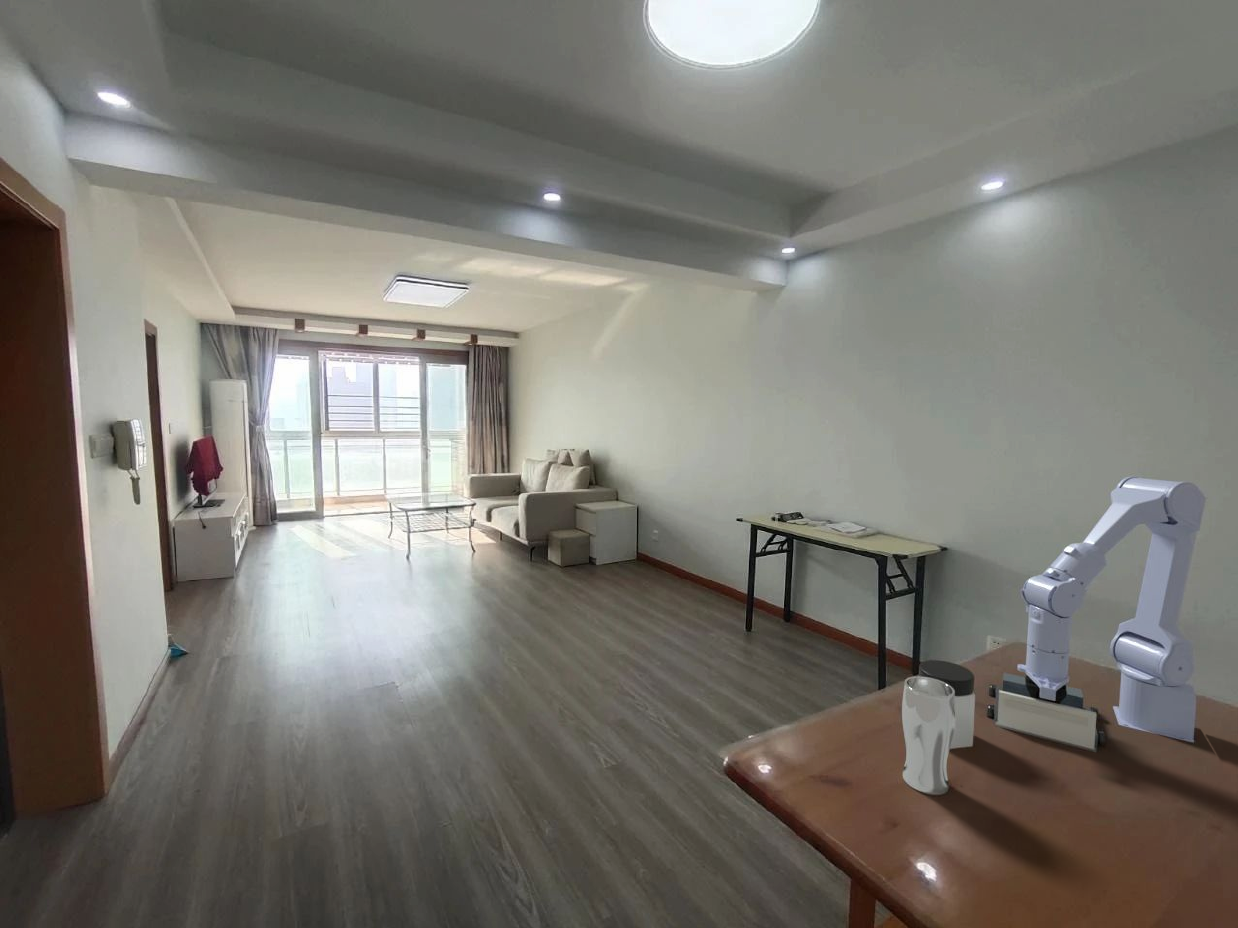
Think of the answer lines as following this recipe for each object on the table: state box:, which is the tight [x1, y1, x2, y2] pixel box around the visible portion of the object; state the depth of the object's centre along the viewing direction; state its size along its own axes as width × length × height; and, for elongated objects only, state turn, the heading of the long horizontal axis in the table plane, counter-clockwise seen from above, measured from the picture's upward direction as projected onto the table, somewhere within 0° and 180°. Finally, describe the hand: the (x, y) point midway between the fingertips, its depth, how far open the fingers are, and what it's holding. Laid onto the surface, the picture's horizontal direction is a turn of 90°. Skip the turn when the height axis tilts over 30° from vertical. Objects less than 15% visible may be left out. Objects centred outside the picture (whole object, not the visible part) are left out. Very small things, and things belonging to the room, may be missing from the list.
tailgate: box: [994, 689, 1097, 753], centre depth 94 cm, size 14×1×7 cm, turn 55°
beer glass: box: [901, 675, 955, 796], centre depth 83 cm, size 7×7×15 cm
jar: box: [918, 659, 976, 750], centre depth 95 cm, size 9×8×12 cm
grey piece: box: [986, 672, 1106, 750], centre depth 101 cm, size 16×16×4 cm
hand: (1043, 722), depth 96 cm, fingers closed
